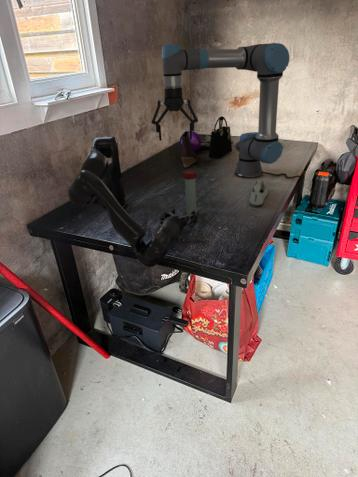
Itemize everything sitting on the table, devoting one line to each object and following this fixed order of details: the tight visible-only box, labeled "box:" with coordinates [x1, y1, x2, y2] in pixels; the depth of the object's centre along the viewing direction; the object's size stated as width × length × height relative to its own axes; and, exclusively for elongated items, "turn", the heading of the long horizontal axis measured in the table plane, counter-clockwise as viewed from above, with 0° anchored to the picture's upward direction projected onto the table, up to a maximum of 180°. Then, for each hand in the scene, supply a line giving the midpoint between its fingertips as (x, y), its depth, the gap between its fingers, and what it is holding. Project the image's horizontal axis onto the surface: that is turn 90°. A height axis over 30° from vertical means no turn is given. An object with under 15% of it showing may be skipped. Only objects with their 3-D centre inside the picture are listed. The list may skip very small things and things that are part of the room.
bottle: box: [184, 177, 198, 216], centre depth 143 cm, size 4×4×19 cm
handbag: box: [208, 115, 233, 159], centre depth 220 cm, size 21×9×25 cm, turn 148°
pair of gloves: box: [198, 134, 234, 150], centre depth 250 cm, size 30×26×5 cm
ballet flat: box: [249, 179, 269, 207], centre depth 158 cm, size 8×24×8 cm, turn 163°
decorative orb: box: [178, 130, 202, 153], centre depth 230 cm, size 15×15×15 cm
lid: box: [183, 169, 197, 180], centre depth 138 cm, size 5×5×2 cm
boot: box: [180, 130, 198, 169], centre depth 209 cm, size 9×24×20 cm, turn 168°
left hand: (184, 211), depth 137 cm, fingers open, 8 cm apart
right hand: (175, 139), depth 147 cm, fingers open, 13 cm apart
